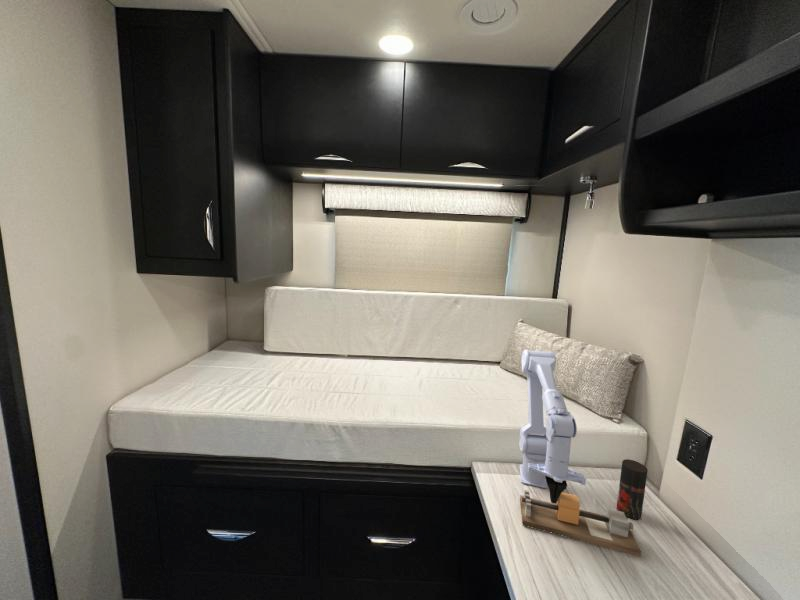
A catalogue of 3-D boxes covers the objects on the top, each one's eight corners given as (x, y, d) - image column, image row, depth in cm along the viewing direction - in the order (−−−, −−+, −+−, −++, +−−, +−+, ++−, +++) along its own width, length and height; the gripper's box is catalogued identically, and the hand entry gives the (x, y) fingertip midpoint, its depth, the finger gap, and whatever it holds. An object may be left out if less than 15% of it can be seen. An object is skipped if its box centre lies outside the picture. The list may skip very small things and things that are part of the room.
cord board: (519, 499, 95) (521, 481, 95) (624, 525, 87) (627, 505, 86) (522, 525, 86) (524, 505, 85) (640, 556, 78) (643, 535, 77)
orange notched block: (555, 509, 89) (557, 490, 89) (574, 513, 88) (576, 494, 87) (558, 519, 86) (560, 500, 85) (578, 524, 84) (580, 504, 83)
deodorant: (645, 522, 88) (652, 473, 87) (622, 518, 90) (628, 470, 88) (634, 506, 94) (640, 461, 92) (612, 503, 95) (618, 458, 94)
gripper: (531, 458, 84) (527, 504, 86) (591, 471, 80) (585, 518, 81) (528, 444, 91) (524, 487, 92) (583, 455, 87) (579, 499, 88)
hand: (553, 500), depth 87 cm, fingers closed
